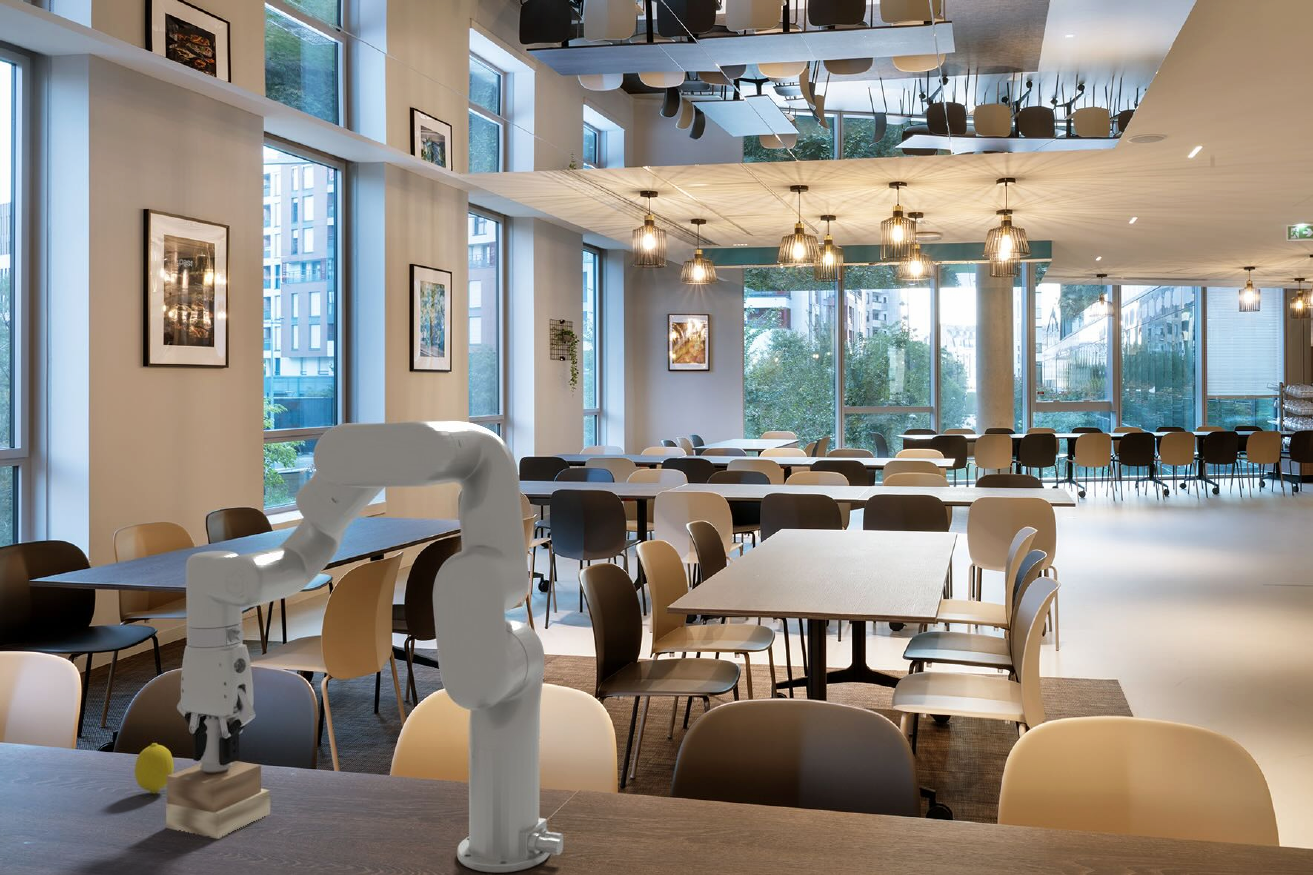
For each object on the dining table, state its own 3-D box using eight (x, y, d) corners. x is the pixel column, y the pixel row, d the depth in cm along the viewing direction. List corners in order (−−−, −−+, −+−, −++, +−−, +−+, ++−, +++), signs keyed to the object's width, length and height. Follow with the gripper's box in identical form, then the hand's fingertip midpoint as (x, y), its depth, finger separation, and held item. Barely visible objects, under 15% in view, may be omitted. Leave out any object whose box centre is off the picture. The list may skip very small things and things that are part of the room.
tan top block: (261, 791, 155) (260, 765, 155) (213, 812, 146) (213, 784, 146) (215, 783, 158) (215, 757, 158) (167, 803, 150) (166, 775, 150)
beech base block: (270, 816, 156) (270, 790, 155) (218, 841, 146) (218, 813, 146) (219, 807, 159) (219, 781, 159) (166, 830, 150) (166, 803, 150)
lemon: (135, 790, 165) (135, 740, 165) (173, 785, 168) (173, 736, 167) (134, 802, 160) (134, 750, 160) (173, 796, 163) (173, 745, 162)
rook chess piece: (238, 763, 154) (238, 710, 154) (223, 773, 150) (222, 718, 150) (209, 762, 155) (209, 709, 154) (193, 773, 150) (193, 718, 150)
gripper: (278, 635, 152) (279, 759, 152) (192, 627, 159) (194, 746, 159) (239, 646, 145) (240, 775, 145) (151, 636, 152) (152, 761, 152)
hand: (216, 759), depth 152 cm, fingers closed on rook chess piece, 4 cm apart
